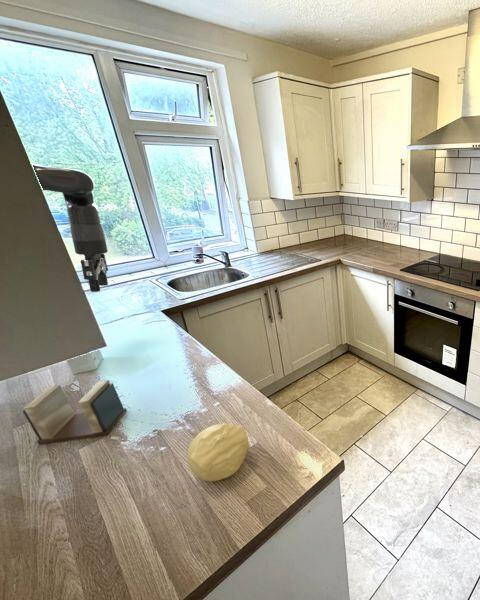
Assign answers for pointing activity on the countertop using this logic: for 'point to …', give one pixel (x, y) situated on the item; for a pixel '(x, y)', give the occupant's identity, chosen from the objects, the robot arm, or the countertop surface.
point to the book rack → (65, 423)
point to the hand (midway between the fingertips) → (99, 288)
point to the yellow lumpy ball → (218, 451)
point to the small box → (85, 362)
